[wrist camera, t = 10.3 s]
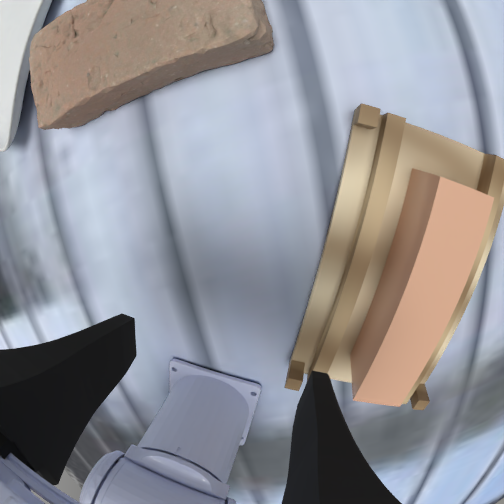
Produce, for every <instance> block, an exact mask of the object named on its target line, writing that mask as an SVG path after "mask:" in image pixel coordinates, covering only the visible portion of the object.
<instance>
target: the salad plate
mask: <svg viewBox="0 0 504 504" xmlns="http://www.w3.org/2000/svg"><path fill="white" fill-rule="evenodd" d="M51 2H52V0H0V151H1V152H4V151H6V150H7V149H8V148H9V147H10V145H11V143H12V142H13V139H14V137H15V135H16V132H17V128H18V124H19V120H20V115H21V110H22V104H23V98H24V92H25V87H26V83H27V79H28V75H29V71H30V63H29V57H30V45H31V41H32V39H33V37H34V35H35V34H36V33H38V32H39V31H40V30H41V29H42V26H43V23H44V21H45V18H46V15H47V12H48V10H49V7H50V5H51Z"/></svg>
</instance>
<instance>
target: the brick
mask: <svg viewBox="0 0 504 504" xmlns="http://www.w3.org/2000/svg"><path fill="white" fill-rule="evenodd" d="M273 45H274V44H273V38H272V27H271V25H270V23H269V22H268V18H267V15H266V12H265V8H264V4H263V2H262V1H261V0H87V1H86V2H85V3H82V4H80V5H78V6H76V7H74V8H73V9H72V10H69V11H67V12H65V13H64V14H62V15H61V16H59V17H57V18H56V19H55V20H54V21H52V22H51V23H49V24H48V25H47V26H45V27H44V28H43V29H41V30H40V31H39V32H38V33H36V34H35V35H34V37H33V39H32V41H31V45H30V57H29V63H30V75H31V88H32V93H33V96H34V101H35V105H36V108H37V119H38V125H39V128H41V129H44V130H46V129H53V128H54V129H59V128H72V127H78V126H81V125H84V124H86V123H88V122H89V121H91V120H93V119H96V118H98V117H99V116H100V115H102V114H103V113H104V112H105V111H108V110H109V111H112V110H116V109H117V108H118V107H120V106H121V105H123V104H126V103H128V102H130V101H132V100H134V99H136V98H138V97H141V96H144V95H147V94H149V93H150V92H152V91H153V90H156V89H160V88H162V87H164V86H166V85H169V84H171V83H173V82H175V81H179V80H181V79H184V78H187V77H190V76H193V75H195V74H197V73H199V72H202V71H204V70H209V69H214V68H218V67H221V66H226V65H231V64H234V63H238V62H241V61H243V60H246V59H249V58H253V57H257V56H260V55H263V54H266V53H269V52H271V51H272V50H273Z"/></svg>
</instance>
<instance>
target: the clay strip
mask: <svg viewBox="0 0 504 504" xmlns="http://www.w3.org/2000/svg"><path fill="white" fill-rule="evenodd" d="M493 201H494V197H491V196H489V195H487V194H484V193H482V192H479V191H477V190H475V189H472V188H470V187H467V186H464V185H462V184H459V183H457V182H454V181H451V180H449V179H446V178H443V177H440V176H437V175H434V174H431V173H427V172H424V171H421V170H417V169H414V168H412V171H411V175H410V179H409V184H408V188H407V192H406V196H405V199H404V203H403V207H402V211H401V214H400V218H399V221H398V225H397V228H396V232H395V235H394V238H393V242H392V245H391V248H390V251H389V254H388V257H387V260H386V263H385V266H384V269H383V272H382V275H381V278H380V281H379V284H378V286H377V289H376V292H375V295H374V297H373V300H372V303H371V305H370V308H369V310H368V313H367V316H366V318H365V321H364V323H363V326H362V328H361V330H360V333H359V335H358V338H357V340H356V342H355V345H354V347H353V349H352V352H351V354H350V361H351V375H352V393H353V400H354V401H361V402H367V403H374V404H382V405H390V406H398V407H400V405H401V404H402V402H403V401H404V399H405V398H406V396H407V395H408V393H409V392H410V390H411V389H412V387H413V385H414V384H415V382H416V381H417V379H418V377H419V376H420V374H421V372H422V371H423V369H424V367H425V366H426V364H427V362H428V360H429V359H430V357H431V355H432V353H433V351H434V349H435V348H436V346H437V344H438V342H439V340H440V338H441V336H442V334H443V332H444V330H445V328H446V326H447V324H448V322H449V320H450V318H451V316H452V314H453V312H454V310H455V307H456V305H457V303H458V301H459V299H460V296H461V294H462V292H463V289H464V287H465V284H466V282H467V280H468V277H469V275H470V272H471V269H472V267H473V264H474V261H475V259H476V256H477V253H478V250H479V247H480V244H481V242H482V238H483V235H484V232H485V229H486V226H487V223H488V219H489V216H490V212H491V209H492V205H493Z"/></svg>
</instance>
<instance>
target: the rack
mask: <svg viewBox="0 0 504 504" xmlns="http://www.w3.org/2000/svg"><path fill="white" fill-rule="evenodd" d="M405 121H406V118H403V117H400V116H397V115H394V114H390V113H386V114H384V115H380V109H379V108H376V107H372V106H369V105H365V104H360V105H359V106H358V107H357V108H356V109H355V111H354V116H353V121H352V127H351V132H350V137H349V142H348V147H347V151H346V156H345V161H344V165H343V170H342V175H341V179H340V183H339V188H338V192H337V196H336V201H335V205H334V209H333V213H332V217H331V221H330V225H329V229H328V233H327V237H326V241H325V244H324V248H323V252H322V256H321V259H320V263H319V267H318V270H317V274H316V277H315V281H314V284H313V288H312V291H311V295H310V298H309V302H308V305H307V308H306V312H305V315H304V318H303V321H302V325H301V328H300V331H299V334H298V337H297V341H296V344H295V347H294V350H293V353H292V356H291V359H290V363H289V368H288V373H287V378H286V384H285V388H288V389H292V390H296V391H299V389H300V387H301V384H302V382H303V374H304V373H305V374H308V377H307V382H308V379H309V377H310V374H311V372H312V370H313V371H318V372H323V373H327V374H328V375H329V377H330V379H334V380H339V381H345V382H350V383H352V375H351V361H350V354H351V352H352V349H353V347H354V345H355V342H356V340H357V338H358V335H359V333H360V330H361V328H362V326H363V323H364V321H365V318H366V316H367V313H368V310H369V308H370V305H371V303H372V300H373V297H374V295H375V292H376V289H377V286H378V284H379V281H380V278H381V275H382V272H383V269H384V266H385V263H386V260H387V257H388V254H389V251H390V248H391V245H392V242H393V238H394V235H395V232H396V228H397V225H398V221H399V218H400V214H401V211H402V207H403V203H404V199H405V196H406V192H407V188H408V184H409V179H410V175H411V171H412V168H414V169H417V170H421V171H424V172H427V173H431V174H434V175H437V176H440V177H443V178H446V179H449V180H451V181H454V182H457V183H459V184H462V185H464V186H467V187H470V188H472V189H475V190H477V191H479V192H482V193H484V194H487V195H489V196H491V197H494V201H493V205H492V209H491V212H490V216H489V219H488V223H487V226H486V229H485V232H484V235H483V238H482V242H481V244H480V247H479V250H478V253H477V256H476V259H475V261H474V264H473V267H472V269H471V272H470V275H469V277H468V280H467V282H466V284H465V287H464V289H463V292H462V294H461V296H460V299H459V301H458V303H457V305H456V307H455V310H454V312H453V314H452V316H451V318H450V320H449V322H448V324H447V326H446V328H445V330H444V332H443V334H442V336H441V338H440V340H439V342H438V344H437V346H436V348H435V349H434V351H433V353H432V355H431V357H430V359H429V360H428V362H427V364H426V366H425V367H424V369H423V371H422V372H421V374H420V376H419V377H418V379H417V381H416V382H415V384H414V385H413V387H412V389H411V390H410V392H409V393H408V395H407V396H406V398H405V399H404V401H403V402H402V404H407V402H408V401H409V399H410V400H411V404H412V408H413V409H415V410H424V409H425V407H426V406H427V405H428V403H429V402H430V401H429V397H428V394H427V391H426V387H425V382H426V381H427V379H428V378H429V376H430V374H431V373H432V371H433V369H434V368H435V366H436V364H437V363H438V361H439V359H440V358H441V356H442V354H443V352H444V350H445V349H446V347H447V345H448V343H449V341H450V339H451V338H452V336H453V334H454V332H455V330H456V328H457V326H458V324H459V322H460V320H461V318H462V316H463V314H464V312H465V309H466V307H467V305H468V303H469V301H470V299H471V296H472V294H473V292H474V289H475V287H476V285H477V282H478V280H479V277H480V275H481V272H482V270H483V267H484V265H485V262H486V259H487V257H488V254H489V251H490V248H491V245H492V242H493V239H494V236H495V233H496V230H497V227H498V223H499V220H500V217H501V213H502V210H503V206H504V159H503V158H501V157H499V156H497V155H490V154H484V153H482V152H479V151H477V150H475V149H473V148H471V147H468V146H466V145H464V144H461V143H459V142H456V141H454V140H452V139H449V138H447V137H444V136H441V135H439V134H436V133H434V132H431V131H428V130H425V129H423V128H420V127H417V126H414V125H411V124H408V123H405Z"/></svg>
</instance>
